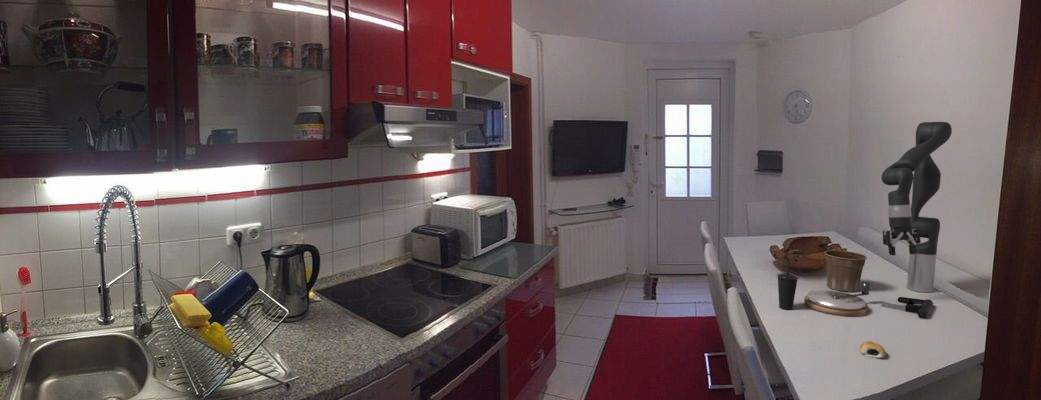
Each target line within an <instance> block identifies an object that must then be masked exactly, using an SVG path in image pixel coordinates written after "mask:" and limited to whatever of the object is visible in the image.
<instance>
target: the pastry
mask: <svg viewBox="0 0 1041 400" xmlns="http://www.w3.org/2000/svg"><path fill="white" fill-rule="evenodd" d="M860 354H861V356H864V357H867V358H875V359H884V358H886V356H887V353H886V350H885V348H884V347H883V346H882V345H881V344H879V343H878V342H874V341H871V340H868V341H863V342H862V343H861V344H860Z"/></svg>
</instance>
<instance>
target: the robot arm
mask: <svg viewBox="0 0 1041 400" xmlns="http://www.w3.org/2000/svg"><path fill="white" fill-rule="evenodd" d="M952 132H953V131H952V125H951V123H949V122H948V121H924V122H920V123H919V124H918V125H917V126H916V130H915V146H913V147H911V148H909V149H908V150H907V151H905V152H904V153H903V154H902V156H901V157H900V158H899V159H898V160H897V161H895V162H894V163H892V164H891V165H890V166H888V167H887V168H885V170H884V171H883V172H882V174H881V178H880V179H881V181H882V183H883V184H884V185H887V186H898V187H897V189H896V190H892V191H890V192H888V194H887V198H888V199H887V201H888V202H887V203H888V210H887V211H888V215H887V216H888V222H889V223H888V225H889V228H890V230H882V244H883V245H884V246H887V248H888V249H887V250H888V254H889V255H890V256H893V257H894V256H896V255H897V254H896V246H895V245H896V244H897V243H898V242H899V241H905V242H907V243H908V244H909V245H908V250H909V251H908V252H909V256H908V257H909V260H908V268H907V278H906V281H907V282H906V289H908V290H910V291H914V292H917V293H918V292H919V293H933V292H934V284H935V283H934V282H935V275H936V273H935V272H936V264H937V250H938V241H939V235H940V230H941V221H940V219H939V218H935V217H926V216H920V213H921V211H922V209H923V207H924V206H925V205H926V204H927V202H928V201H930V200H931V198H933V197H934V196H935V194H937V192H938V191H939V190H940V185H941V176H942V174H941V170H940V168H939V167H938V165H937V164H936V162H935V161H934V159H933V158H932V156H931V155H932V153H934V152H935V151H936V150H938V149H939V148H940V147H941V146H942V145H944V144H945V143H947V142H948V141H949V139H950V138H951V136H952ZM911 190H912V191H911ZM911 192H912V194H911V202H910V193H911ZM922 238H923V239H927V240H926V241H924V242H922V241H921V239H922Z"/></svg>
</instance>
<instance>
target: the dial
mask: <svg viewBox="0 0 1041 400" xmlns="http://www.w3.org/2000/svg"><path fill="white" fill-rule="evenodd" d="M870 285H871V282H869V281H862V282H861V292H860V293H856V294H855V293H854V294H850V293H848V292H846V293H845V292H843V291H837V290H812V291H809V292H808V293H807V295H806V296H807V299H808V300H809V301H810V302H812V303H814V304H817V305H820V306H823V307H827V308H832V309H839V310H860V309H863V308H865V304H866V301H865V299H863V298H861V296H869V295H870Z"/></svg>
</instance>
